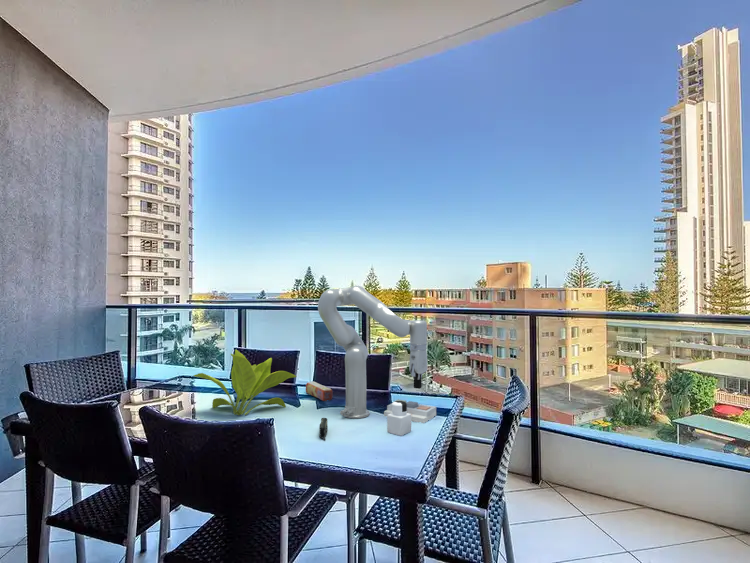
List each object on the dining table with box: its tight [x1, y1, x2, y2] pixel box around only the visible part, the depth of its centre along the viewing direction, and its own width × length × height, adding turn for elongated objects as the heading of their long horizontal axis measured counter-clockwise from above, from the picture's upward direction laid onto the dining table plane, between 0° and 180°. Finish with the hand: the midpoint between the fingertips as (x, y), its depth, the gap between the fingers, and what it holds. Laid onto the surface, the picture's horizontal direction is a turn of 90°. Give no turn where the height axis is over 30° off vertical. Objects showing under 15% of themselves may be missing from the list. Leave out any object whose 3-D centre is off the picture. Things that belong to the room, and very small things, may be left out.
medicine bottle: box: [386, 400, 412, 437], centre depth 163 cm, size 7×7×12 cm
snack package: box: [305, 380, 334, 402], centre depth 219 cm, size 21×7×7 cm, turn 35°
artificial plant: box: [192, 349, 297, 417], centre depth 191 cm, size 42×43×30 cm
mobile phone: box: [318, 417, 328, 440], centre depth 161 cm, size 5×3×15 cm
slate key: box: [406, 400, 419, 408], centre depth 186 cm, size 4×4×2 cm
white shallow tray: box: [383, 401, 437, 424], centre depth 185 cm, size 13×20×4 cm, turn 58°
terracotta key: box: [417, 406, 430, 410], centre depth 183 cm, size 4×4×2 cm
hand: (417, 387), depth 184 cm, fingers closed
